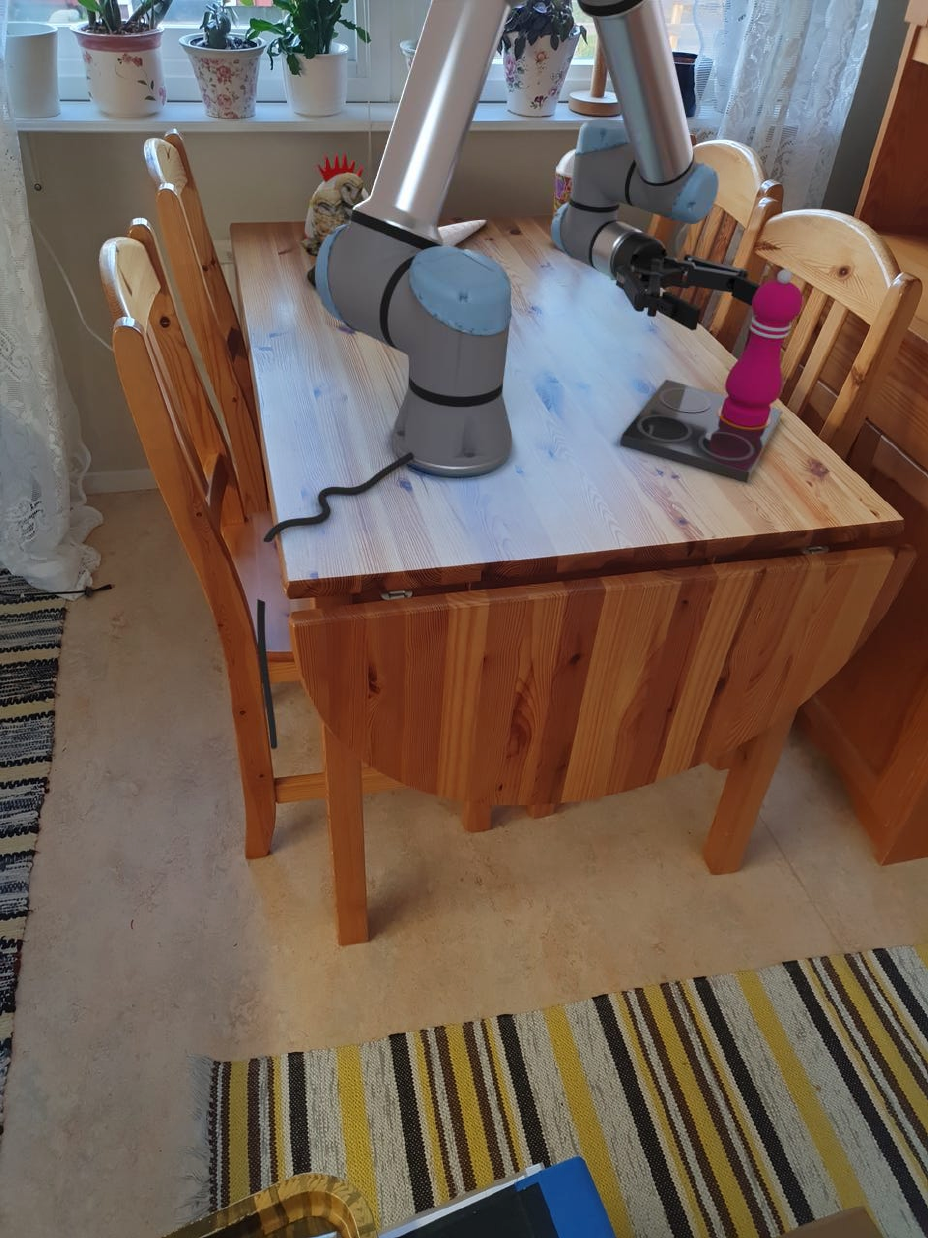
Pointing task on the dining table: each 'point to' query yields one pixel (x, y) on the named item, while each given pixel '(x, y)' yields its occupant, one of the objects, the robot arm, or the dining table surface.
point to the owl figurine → (332, 212)
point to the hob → (698, 432)
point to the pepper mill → (762, 353)
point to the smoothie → (563, 181)
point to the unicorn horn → (459, 231)
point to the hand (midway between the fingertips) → (734, 311)
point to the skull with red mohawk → (331, 185)
